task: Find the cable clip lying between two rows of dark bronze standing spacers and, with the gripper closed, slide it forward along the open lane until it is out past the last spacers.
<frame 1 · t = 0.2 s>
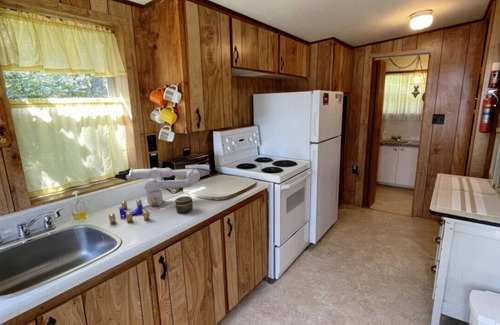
hand: (117, 174, 163), 21 cm above the worktop, tool horizontal, fingers open, 7 cm apart
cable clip: (131, 215, 154), on the worktop
jar: (184, 211, 156), on the worktop
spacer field: (135, 214, 154), on the worktop
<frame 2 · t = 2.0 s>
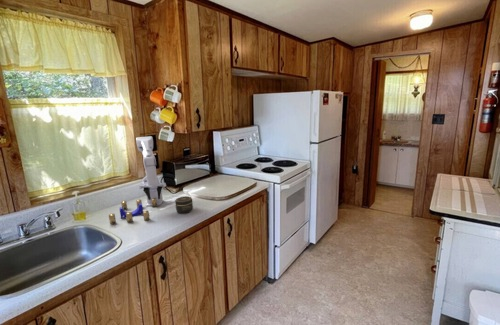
hand: (154, 199, 154), 8 cm above the worktop, tool pointing down, fingers open, 5 cm apart
nothing on the worktop moved.
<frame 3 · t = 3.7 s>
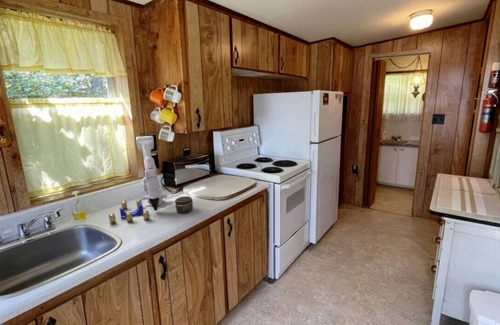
hand: (155, 210, 156), 1 cm above the worktop, tool pointing down, fingers closed
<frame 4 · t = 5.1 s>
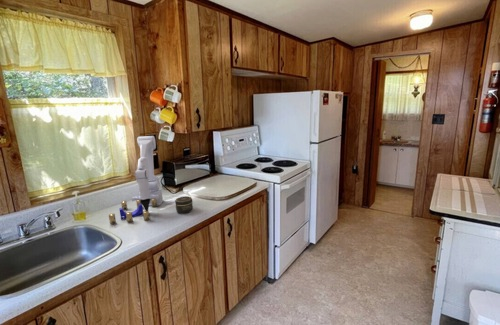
hand: (147, 210, 155), 1 cm above the worktop, tool pointing down, fingers closed
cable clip: (132, 216, 153), on the worktop, touching gripper
everything else where it was.
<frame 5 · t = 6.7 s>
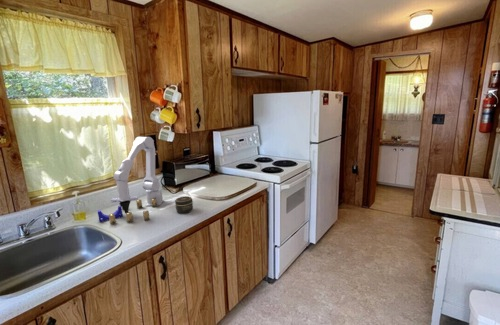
hand: (126, 212, 153), 1 cm above the worktop, tool pointing down, fingers closed
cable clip: (111, 218, 151), on the worktop, touching gripper
everything else where it was.
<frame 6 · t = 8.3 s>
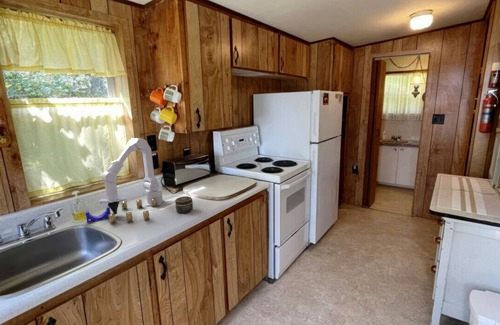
hand: (115, 213, 153), 1 cm above the worktop, tool pointing down, fingers closed
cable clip: (99, 219, 150), on the worktop, touching gripper
everything else where it was.
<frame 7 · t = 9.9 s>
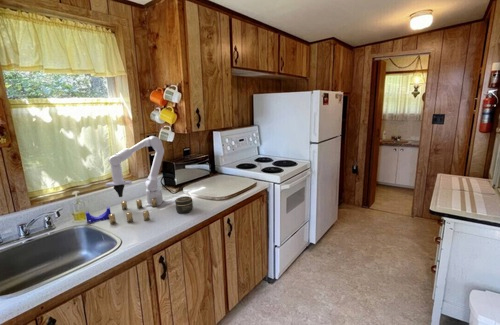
hand: (120, 196, 159), 9 cm above the worktop, tool pointing down, fingers closed
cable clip: (99, 219, 150), on the worktop
everything else where it was.
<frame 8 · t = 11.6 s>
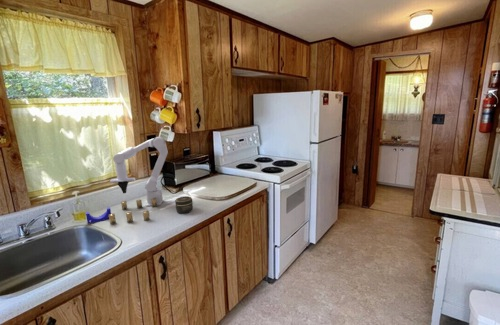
hand: (124, 192, 165), 9 cm above the worktop, tool pointing down, fingers closed
nothing on the worktop moved.
at the end: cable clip inside the target area (3.1 cm from its centre), on the worktop; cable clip moved 17.0 cm from its start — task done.
